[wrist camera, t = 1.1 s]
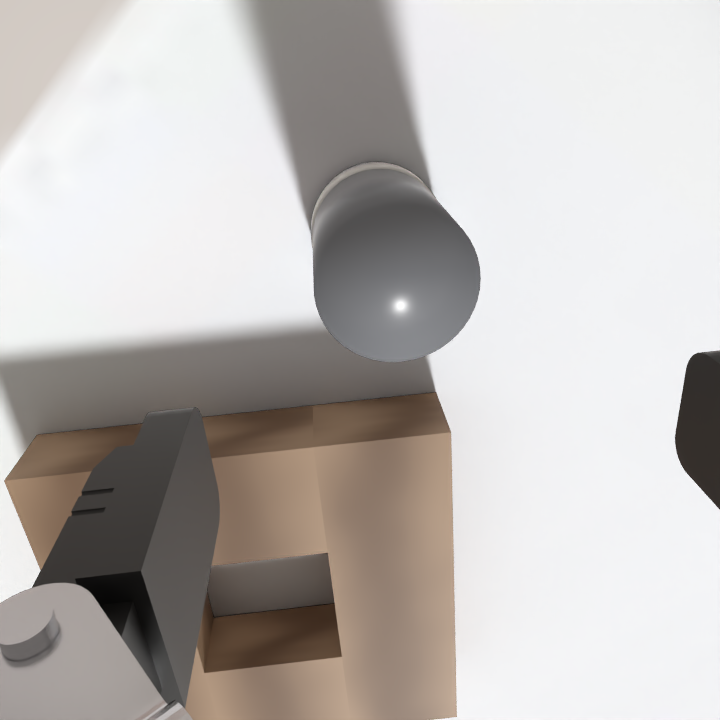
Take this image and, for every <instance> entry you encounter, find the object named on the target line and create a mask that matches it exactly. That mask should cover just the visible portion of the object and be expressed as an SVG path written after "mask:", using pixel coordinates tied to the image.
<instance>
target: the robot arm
mask: <svg viewBox="0 0 720 720" xmlns="http://www.w3.org/2000/svg"><path fill="white" fill-rule="evenodd" d="M675 444H676V451H677V454H678V458H679V460H680V463H681V465H682V467H683V468H684V470H685V471H686V472H687V474H688V475H689V476H690V477H691V478H692V479H693V480H694V481H695V483H696V484H697V485H698V486H699V487H700V488H701V489H702V490H703V491H704V493H705V494H706V495H707V496H708V497H709V498H710V499H711V500H712V501H713V502H714V504H715V505H716V506H717V507H718V508H719V509H720V351H711V352H702V353H697V354H695V355H693V356H692V357H691V358H690V360H689V362H688V365H687V368H686V374H685V380H684V386H683V392H682V398H681V404H680V410H679V416H678V422H677V428H676V434H675ZM81 493H82V496H79V497H78V499H77V501H76V503H75V505H74V507H73V509H72V511H71V513H72V515H71V516H69V517H68V518H67V520H66V522H65V524H64V526H63V528H62V530H61V532H60V534H59V536H58V538H57V540H56V542H55V544H54V546H53V548H52V550H51V552H50V554H49V556H48V558H47V560H46V561H45V563H44V565H43V567H42V569H41V571H40V573H39V575H38V577H37V579H36V581H35V583H34V585H33V587H32V588H30V589H28V590H25V591H22V592H20V593H18V594H16V595H14V596H12V597H10V598H8V599H6V600H5V601H3V602H1V603H0V720H193V719H192V718H191V716H190V715H189V714H188V712H187V711H186V710H185V706H186V701H187V696H188V690H189V685H190V679H191V674H192V669H193V663H194V658H195V652H196V647H197V641H198V636H199V631H200V625H201V620H202V614H203V609H204V604H205V598H206V593H207V587H208V582H209V577H210V571H211V566H212V560H213V555H214V549H215V544H216V539H217V533H218V528H219V521H220V501H219V491H218V486H217V481H216V477H215V472H214V468H213V463H212V459H211V455H210V450H209V446H208V441H207V437H206V433H205V428H204V424H203V420H202V416H201V414H200V411H199V410H198V408H196V407H192V408H183V409H174V410H165V411H156V412H149V413H148V414H147V416H146V417H145V420H144V422H143V424H142V427H141V429H140V431H139V433H138V436H137V438H136V440H135V442H134V445H129V446H120V447H116V448H115V449H114V450H113V451H112V452H111V453H110V454H108V455H107V456H106V457H105V458H104V459H103V460H102V461H101V462H100V463H98V464H97V465H96V466H95V467H94V468H93V470H92V472H91V474H90V476H89V477H88V479H87V481H86V483H85V485H84V487H83V489H82V491H81Z"/></svg>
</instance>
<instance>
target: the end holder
mask: <svg viewBox="0 0 720 720" xmlns="http://www.w3.org/2000/svg"><path fill="white" fill-rule="evenodd" d="M202 420H203V424H204V428H205V433H206V437H207V441H208V446H209V450H210V455H211V459H212V463H213V468H214V472H215V477H216V481H217V486H218V491H219V501H220V521H219V528H218V533H217V539H216V544H215V549H214V555H213V560H212V566H215V565H224V564H233V563H242V562H251V561H259V560H268V559H277V558H286V557H295V556H303V555H312V554H321V553H328V559H329V566H330V573H331V580H332V588H333V595H334V602H335V604H327V605H318V606H310V607H301V608H292V609H284V610H275V611H267V612H258V613H249V614H241V615H232V616H223V617H215V618H214V616H213V612H212V609H211V605H210V601H209V597H208V593H206V598H205V604H204V609H203V614H202V620H201V625H200V631H199V636H198V641H197V647H196V652H195V658H194V663H193V669H192V674H191V679H190V685H189V690H188V696H187V701H186V706H185V710H186V711H187V712H188V714H189V715H190V716H191V718H192V719H193V720H434V719H442V718H450V717H457V706H456V656H455V606H454V557H453V507H452V458H451V431H450V428H449V426H448V423H447V420H446V418H445V415H444V412H443V410H442V407H441V404H440V402H439V399H438V396H437V393H436V392H434V393H425V394H416V395H406V396H397V397H387V398H378V399H369V400H359V401H350V402H341V403H331V404H322V405H312V406H303V407H294V408H284V409H275V410H266V411H256V412H247V413H237V414H228V415H219V416H209V417H202ZM141 427H142V424H134V425H125V426H116V427H106V428H97V429H87V430H78V431H69V432H59V433H50V434H40V435H37V436H36V437H35V438H34V440H33V441H32V443H31V444H30V445H29V447H28V448H27V450H26V451H25V452H24V454H23V455H22V457H21V458H20V459H19V461H18V462H17V464H16V465H15V466H14V468H13V469H12V471H11V472H10V473H9V475H8V476H7V478H6V479H5V480H4V482H5V484H6V487H7V489H8V491H9V494H10V496H11V499H12V501H13V504H14V506H15V509H16V511H17V513H18V516H19V518H20V521H21V523H22V526H23V528H24V531H25V533H26V535H27V538H28V540H29V543H30V545H31V548H32V550H33V553H34V555H35V557H36V560H37V562H38V565H39V567H40V570H41V569H42V567H43V565H44V563H45V561H46V560H47V558H48V556H49V554H50V552H51V550H52V548H53V546H54V544H55V542H56V540H57V538H58V536H59V534H60V532H61V530H62V528H63V526H64V524H65V522H66V520H67V518H68V517H69V516H71V515H72V513H71V511H72V509H73V507H74V505H75V503H76V501H77V499H78V497H79V496H82V493H81V491H82V489H83V487H84V485H85V483H86V481H87V479H88V477H89V476H90V474H91V472H92V470H93V468H94V467H95V466H96V465H97V464H98V463H100V462H101V461H102V460H103V459H104V458H105V457H106V456H107V455H108V454H110V453H111V452H112V451H113V450H114V449H115V448H116V447H120V446H129V445H134V442H135V440H136V438H137V436H138V433H139V431H140V429H141Z"/></svg>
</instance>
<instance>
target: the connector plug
mask: <svg viewBox="0 0 720 720" xmlns="http://www.w3.org/2000/svg"><path fill="white" fill-rule="evenodd" d="M311 240H312V248H313V276H314V297H315V302H316V307H317V310H318V312H319V315H320V317H321V319H322V321H323V323H324V325H325V326H326V328H327V329H328V331H329V332H330V333H331V335H332V336H333V337H334V338H335V339H336V340H337V341H338V342H339V343H341V344H342V345H343V346H344V347H346V348H347V349H349V350H350V351H352V352H354V353H356V354H358V355H360V356H363V357H366V358H369V359H372V360H377V361H383V362H403V361H409V360H414V359H417V358H421V357H424V356H426V355H428V354H431V353H433V352H435V351H436V350H438V349H440V348H442V347H443V346H444V345H446V344H447V343H448V342H450V341H451V340H452V339H453V338H454V337H455V336H456V335H457V334H458V333H459V332H460V331H461V330H462V328H463V327H464V326H465V324H466V323H467V321H468V320H469V318H470V316H471V314H472V312H473V310H474V308H475V305H476V302H477V299H478V295H479V290H480V279H481V278H480V266H479V261H478V257H477V254H476V252H475V249H474V247H473V245H472V243H471V241H470V239H469V238H468V236H467V235H466V233H465V232H464V231H463V229H462V228H461V227H460V226H459V225H458V224H457V223H456V221H455V220H454V219H453V218H452V217H451V216H450V215H449V213H448V212H447V211H446V210H445V209H444V208H443V207H442V205H441V204H440V203H439V202H438V201H437V199H436V197H435V196H434V195H433V193H432V192H431V190H430V189H429V188H428V187H427V186H426V185H425V184H424V183H423V182H422V181H421V179H420V178H418V177H417V176H416V175H415V174H413V173H412V172H410V171H408V170H407V169H405V168H403V167H400V166H398V165H394V164H390V163H385V162H367V163H361V164H358V165H355V166H352V167H350V168H348V169H346V170H344V171H343V172H341V173H340V174H338V175H337V176H336V177H335V178H333V179H332V180H331V181H330V182H329V183H328V185H327V186H326V187H325V189H324V190H323V191H322V193H321V194H320V196H319V198H318V200H317V202H316V205H315V208H314V211H313V215H312V222H311Z"/></svg>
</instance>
